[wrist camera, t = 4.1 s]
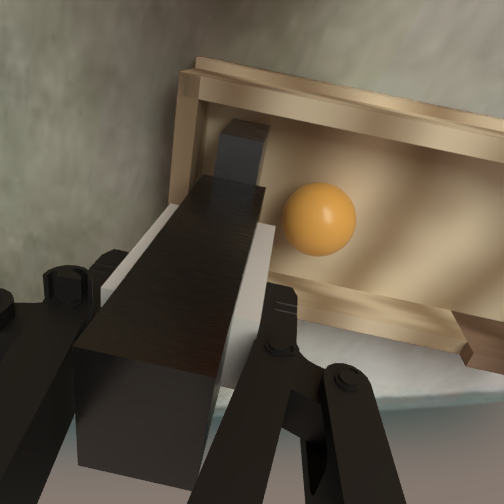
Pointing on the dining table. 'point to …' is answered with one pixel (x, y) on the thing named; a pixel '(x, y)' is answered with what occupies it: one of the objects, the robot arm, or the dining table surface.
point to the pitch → (368, 202)
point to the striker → (171, 327)
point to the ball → (318, 219)
